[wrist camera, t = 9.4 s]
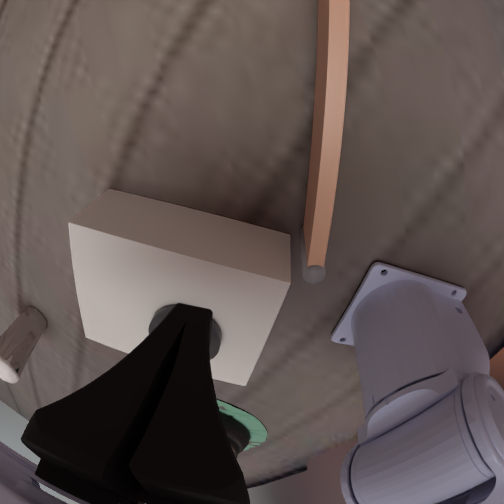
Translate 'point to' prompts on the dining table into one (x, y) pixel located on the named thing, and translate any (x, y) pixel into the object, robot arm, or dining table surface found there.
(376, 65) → the dining table surface
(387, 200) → the dining table surface
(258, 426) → the dark green fedora
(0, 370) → the milkshake
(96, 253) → the camera case
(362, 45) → the dining table surface
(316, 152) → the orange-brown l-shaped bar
